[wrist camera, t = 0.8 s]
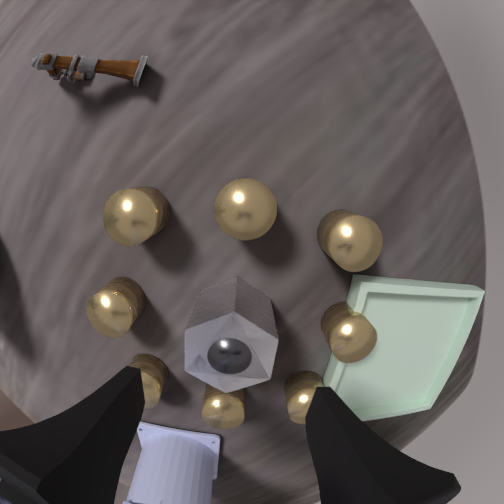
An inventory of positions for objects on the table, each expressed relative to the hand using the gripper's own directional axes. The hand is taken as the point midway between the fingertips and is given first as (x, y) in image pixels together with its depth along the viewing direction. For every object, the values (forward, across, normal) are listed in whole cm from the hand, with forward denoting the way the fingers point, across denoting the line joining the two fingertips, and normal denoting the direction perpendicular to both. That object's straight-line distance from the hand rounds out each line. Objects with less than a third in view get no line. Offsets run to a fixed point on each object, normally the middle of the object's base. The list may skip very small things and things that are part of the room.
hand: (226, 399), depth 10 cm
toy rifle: (+8, +11, -15) cm, 20 cm away
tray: (+8, -14, +3) cm, 16 cm away
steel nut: (+8, 0, 0) cm, 8 cm away
